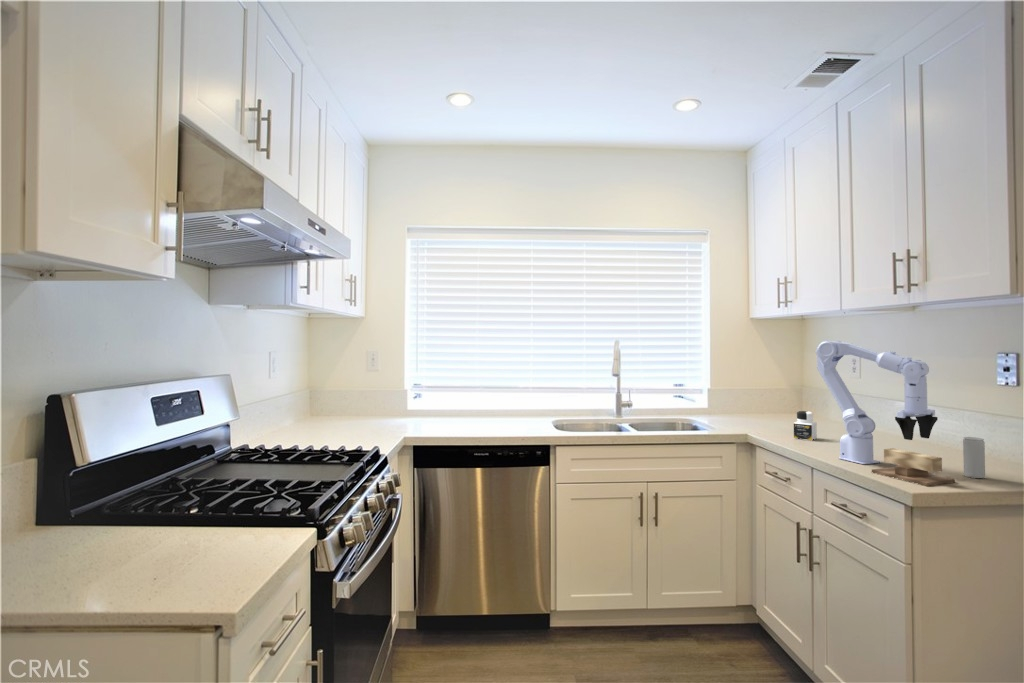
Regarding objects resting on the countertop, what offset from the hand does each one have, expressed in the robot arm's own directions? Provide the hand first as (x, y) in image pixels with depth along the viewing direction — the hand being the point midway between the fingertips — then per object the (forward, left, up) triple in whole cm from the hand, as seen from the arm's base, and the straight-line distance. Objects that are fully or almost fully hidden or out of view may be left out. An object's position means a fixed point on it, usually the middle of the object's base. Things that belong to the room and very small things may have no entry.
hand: (916, 438), depth 158 cm
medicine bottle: (-53, +12, -11) cm, 55 cm away
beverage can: (+11, +8, -11) cm, 17 cm away
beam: (+5, -10, -7) cm, 13 cm away
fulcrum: (+5, -10, -10) cm, 15 cm away
